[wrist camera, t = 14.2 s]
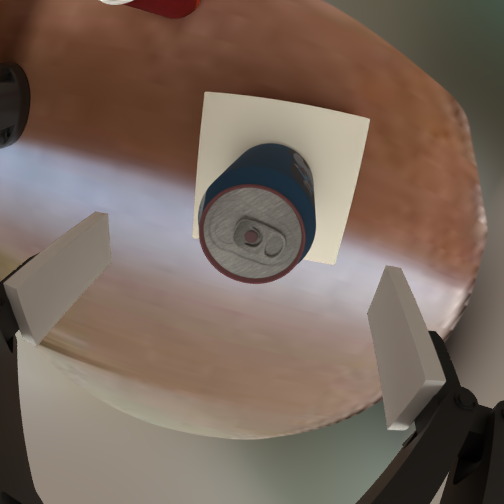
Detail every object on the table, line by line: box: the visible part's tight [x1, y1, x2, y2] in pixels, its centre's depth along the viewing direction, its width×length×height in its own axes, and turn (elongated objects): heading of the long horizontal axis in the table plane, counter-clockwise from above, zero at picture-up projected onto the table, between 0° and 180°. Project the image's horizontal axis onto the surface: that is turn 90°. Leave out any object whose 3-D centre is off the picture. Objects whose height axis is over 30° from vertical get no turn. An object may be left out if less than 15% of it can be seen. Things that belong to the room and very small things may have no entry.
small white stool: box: [192, 92, 370, 265], centre depth 32 cm, size 14×14×10 cm
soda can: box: [198, 143, 316, 284], centre depth 22 cm, size 7×7×12 cm
